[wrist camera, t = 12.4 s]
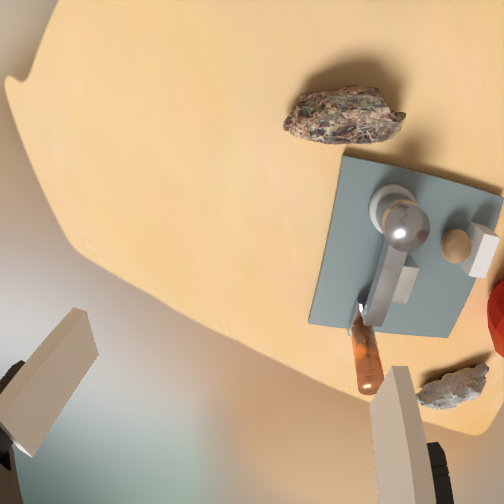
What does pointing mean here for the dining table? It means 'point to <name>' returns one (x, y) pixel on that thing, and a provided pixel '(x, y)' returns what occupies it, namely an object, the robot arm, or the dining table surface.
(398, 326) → the board
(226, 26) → the dining table surface
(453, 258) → the light brown ball
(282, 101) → the dining table surface
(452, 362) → the dining table surface
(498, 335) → the apple
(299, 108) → the rock
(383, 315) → the lever
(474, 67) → the dining table surface
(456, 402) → the mineral specimen
